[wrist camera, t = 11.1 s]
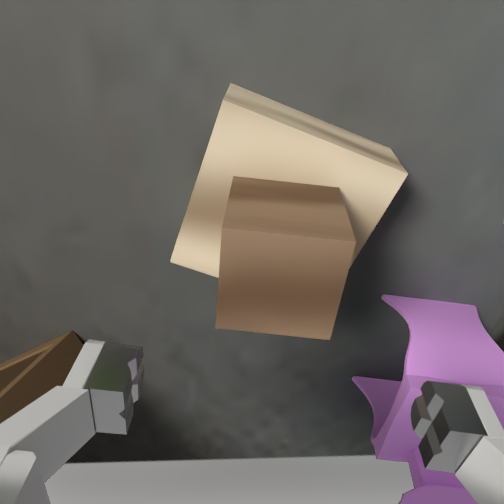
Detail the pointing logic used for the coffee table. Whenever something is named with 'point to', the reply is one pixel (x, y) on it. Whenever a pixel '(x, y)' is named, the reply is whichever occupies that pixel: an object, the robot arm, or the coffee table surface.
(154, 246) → the coffee table surface
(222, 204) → the beech block
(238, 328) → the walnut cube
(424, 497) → the toy chair
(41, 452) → the robot arm
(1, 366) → the photo frame
